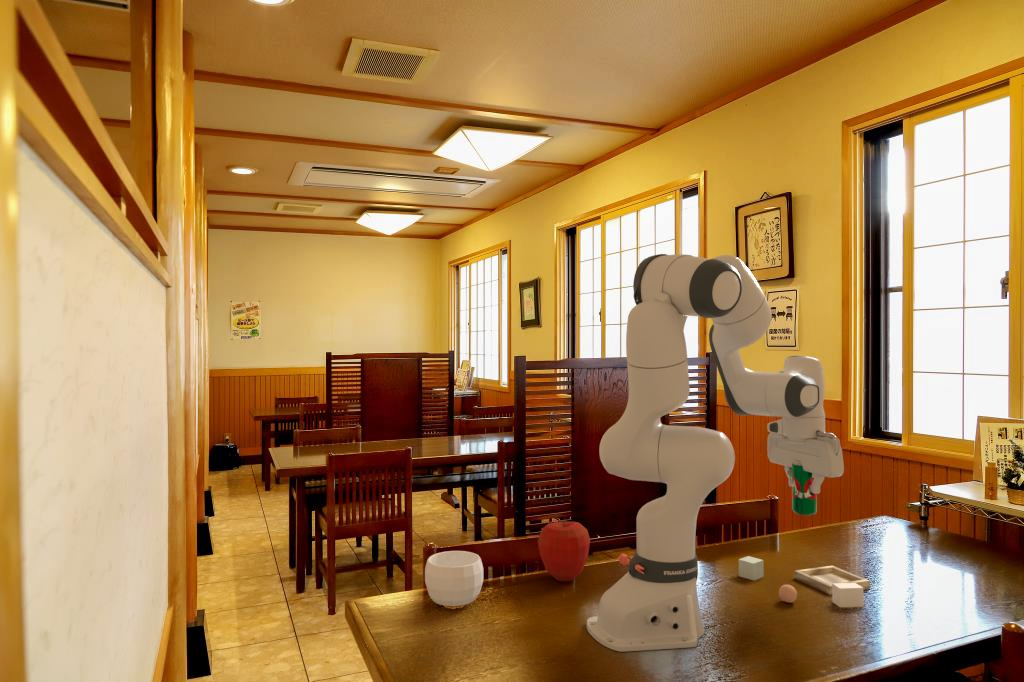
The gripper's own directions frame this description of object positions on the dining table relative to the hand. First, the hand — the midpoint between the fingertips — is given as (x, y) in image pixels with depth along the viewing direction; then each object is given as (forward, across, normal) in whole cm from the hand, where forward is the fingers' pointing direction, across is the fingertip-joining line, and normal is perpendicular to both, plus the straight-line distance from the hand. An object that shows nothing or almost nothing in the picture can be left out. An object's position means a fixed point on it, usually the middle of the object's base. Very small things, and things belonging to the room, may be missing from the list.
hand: (804, 489), depth 153 cm
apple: (+22, +23, +49) cm, 58 cm away
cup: (+21, +16, +77) cm, 81 cm away
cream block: (+22, -11, -1) cm, 25 cm away
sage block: (+22, +10, +7) cm, 25 cm away
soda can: (+5, 0, 0) cm, 5 cm away
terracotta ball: (+20, -6, +10) cm, 23 cm away
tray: (+22, 0, -7) cm, 23 cm away
